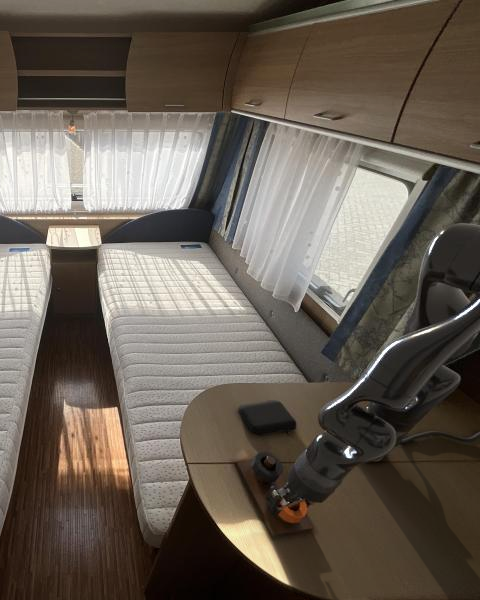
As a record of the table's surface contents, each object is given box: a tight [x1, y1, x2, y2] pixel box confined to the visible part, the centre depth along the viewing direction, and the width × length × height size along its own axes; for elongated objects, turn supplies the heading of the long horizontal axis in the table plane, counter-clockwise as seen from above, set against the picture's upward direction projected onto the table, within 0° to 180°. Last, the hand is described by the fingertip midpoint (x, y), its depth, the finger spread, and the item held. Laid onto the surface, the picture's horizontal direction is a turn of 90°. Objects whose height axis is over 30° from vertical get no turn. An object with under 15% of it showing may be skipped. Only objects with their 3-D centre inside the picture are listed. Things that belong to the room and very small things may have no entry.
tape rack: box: [234, 456, 316, 538], centre depth 81 cm, size 10×17×8 cm, turn 8°
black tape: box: [252, 451, 284, 482], centre depth 84 cm, size 6×6×3 cm
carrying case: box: [237, 399, 297, 436], centre depth 99 cm, size 11×3×15 cm
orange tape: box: [278, 496, 308, 523], centre depth 77 cm, size 6×6×3 cm
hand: (286, 509), depth 78 cm, fingers closed on orange tape, 6 cm apart
